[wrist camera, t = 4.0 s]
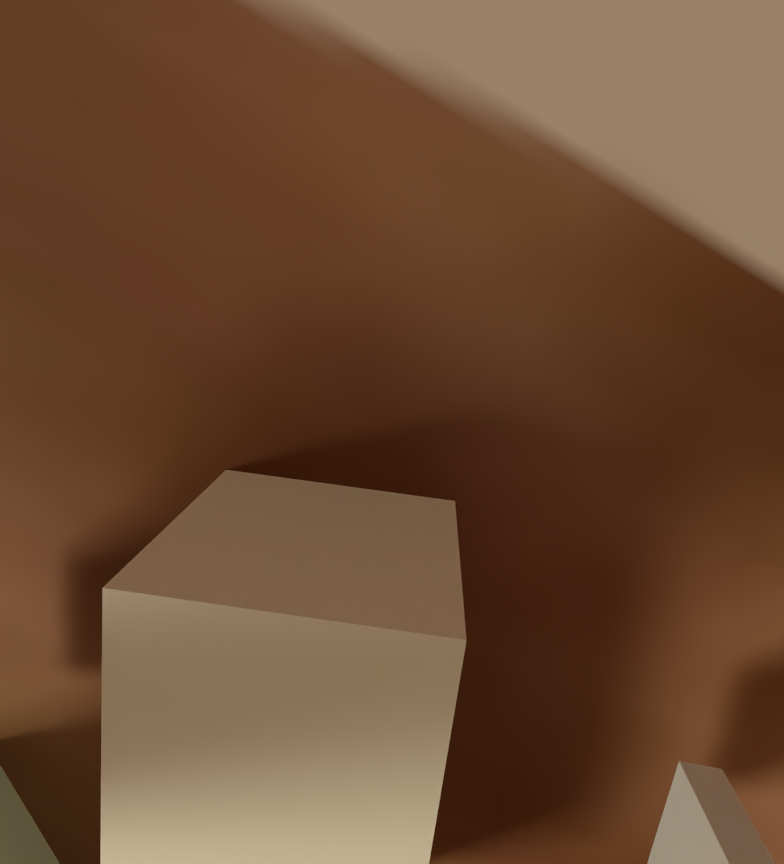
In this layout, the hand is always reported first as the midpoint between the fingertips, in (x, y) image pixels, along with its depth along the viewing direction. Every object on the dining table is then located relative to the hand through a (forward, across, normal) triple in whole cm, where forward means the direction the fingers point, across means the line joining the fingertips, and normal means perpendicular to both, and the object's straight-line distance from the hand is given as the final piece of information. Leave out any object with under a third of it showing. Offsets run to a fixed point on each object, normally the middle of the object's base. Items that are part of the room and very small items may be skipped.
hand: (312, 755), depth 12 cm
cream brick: (+2, 0, 0) cm, 2 cm away
